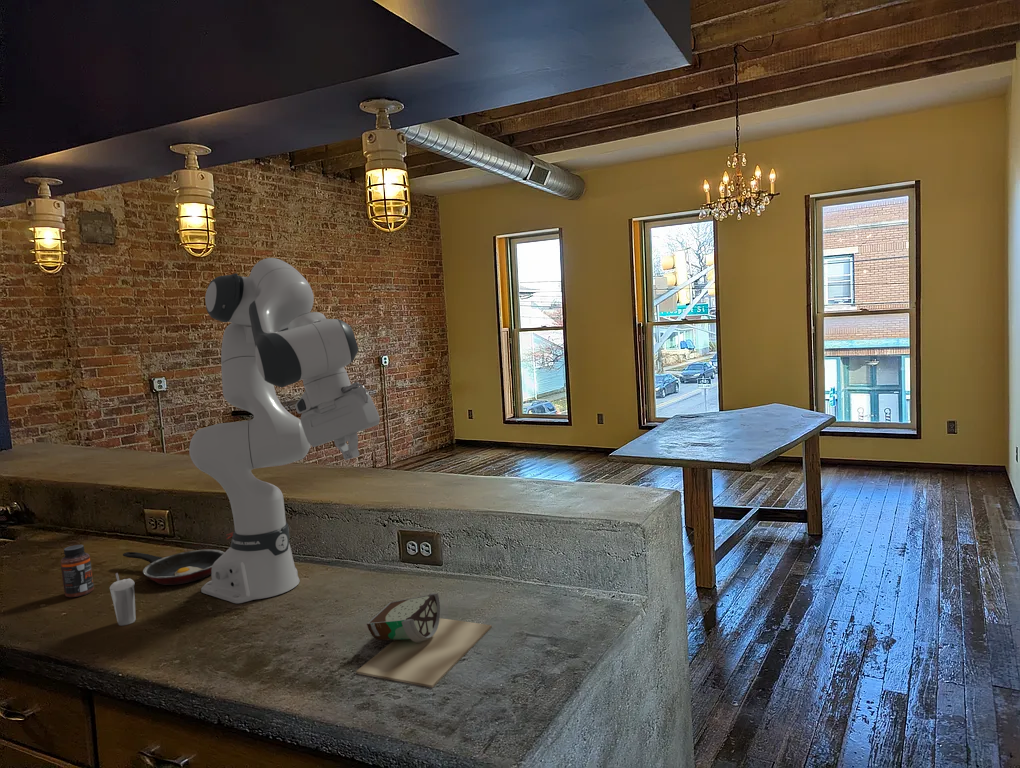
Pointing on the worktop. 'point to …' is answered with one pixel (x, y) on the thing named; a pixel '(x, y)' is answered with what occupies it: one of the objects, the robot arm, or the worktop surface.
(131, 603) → the milkshake
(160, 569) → the frying pan
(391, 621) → the food container
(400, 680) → the oak board
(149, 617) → the worktop surface
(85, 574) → the supplement bottle
